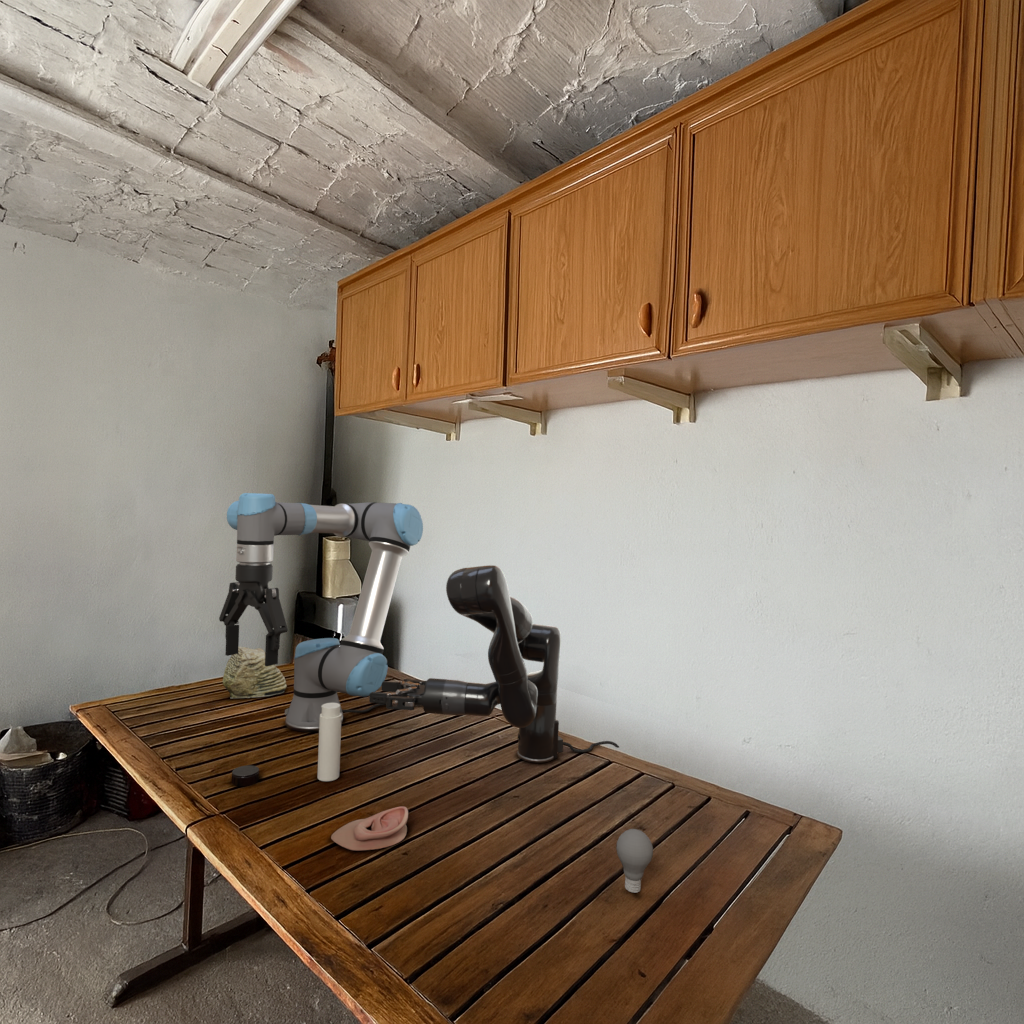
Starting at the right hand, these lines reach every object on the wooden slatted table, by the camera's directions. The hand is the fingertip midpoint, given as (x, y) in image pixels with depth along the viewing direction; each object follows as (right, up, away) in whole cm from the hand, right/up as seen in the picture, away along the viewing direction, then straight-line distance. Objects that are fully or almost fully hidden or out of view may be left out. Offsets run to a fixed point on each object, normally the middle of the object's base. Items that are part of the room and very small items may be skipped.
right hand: (376, 691), depth 142 cm
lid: (-28, -17, -2) cm, 33 cm away
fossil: (-50, -17, +56) cm, 77 cm away
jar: (-11, -20, +1) cm, 23 cm away
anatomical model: (+4, -21, -23) cm, 31 cm away
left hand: (-27, +8, -3) cm, 28 cm away
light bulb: (+51, -23, -36) cm, 66 cm away
